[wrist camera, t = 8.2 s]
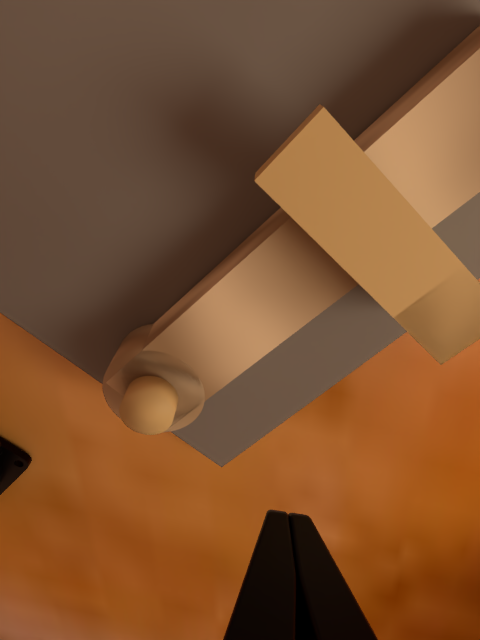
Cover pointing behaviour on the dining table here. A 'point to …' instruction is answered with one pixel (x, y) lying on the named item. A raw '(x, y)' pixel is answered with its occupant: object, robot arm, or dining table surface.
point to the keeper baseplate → (220, 184)
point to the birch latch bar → (308, 248)
